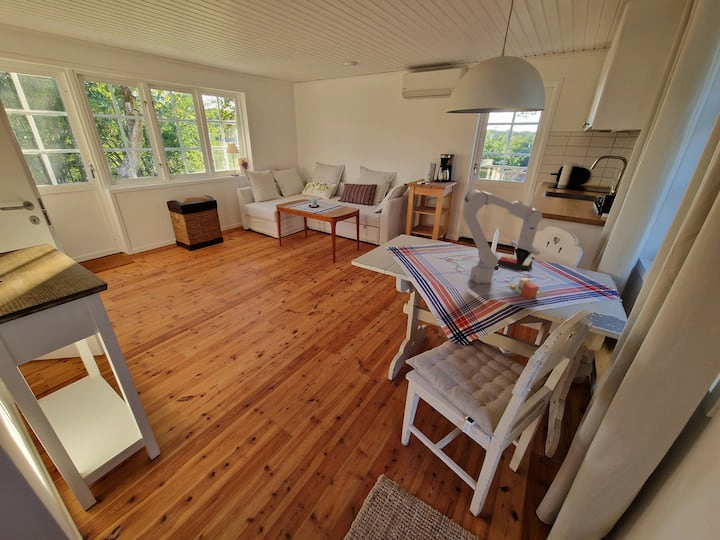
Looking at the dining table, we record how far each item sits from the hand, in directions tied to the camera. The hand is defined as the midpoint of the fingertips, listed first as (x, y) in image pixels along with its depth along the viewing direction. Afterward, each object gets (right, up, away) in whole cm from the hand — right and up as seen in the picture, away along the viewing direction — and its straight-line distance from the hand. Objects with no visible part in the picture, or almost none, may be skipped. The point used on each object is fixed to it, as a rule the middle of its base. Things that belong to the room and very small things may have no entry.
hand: (519, 264), depth 133 cm
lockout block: (-1, -13, -9) cm, 16 cm away
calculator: (+11, -1, +25) cm, 27 cm away
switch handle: (+1, -10, -1) cm, 10 cm away
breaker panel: (+1, -13, -4) cm, 14 cm away
